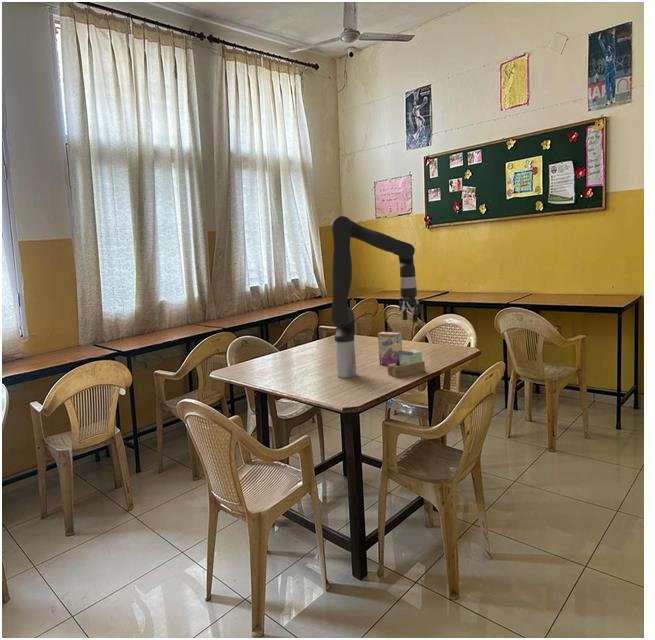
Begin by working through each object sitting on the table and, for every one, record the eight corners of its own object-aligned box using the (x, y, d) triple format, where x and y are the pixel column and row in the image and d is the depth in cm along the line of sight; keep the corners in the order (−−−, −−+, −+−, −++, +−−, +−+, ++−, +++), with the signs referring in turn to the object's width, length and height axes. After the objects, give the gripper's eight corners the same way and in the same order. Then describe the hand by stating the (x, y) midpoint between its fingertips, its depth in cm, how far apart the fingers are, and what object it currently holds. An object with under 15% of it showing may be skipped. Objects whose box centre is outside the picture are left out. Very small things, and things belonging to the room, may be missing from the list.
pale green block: (402, 362, 241) (402, 351, 240) (415, 359, 244) (414, 349, 243) (409, 364, 236) (409, 354, 235) (422, 362, 238) (421, 351, 237)
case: (388, 374, 239) (387, 364, 238) (416, 369, 245) (416, 359, 245) (395, 378, 233) (395, 367, 232) (425, 372, 239) (424, 361, 238)
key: (393, 363, 239) (392, 342, 238) (413, 365, 232) (412, 344, 230) (391, 364, 238) (389, 343, 236) (411, 366, 230) (410, 345, 229)
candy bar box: (379, 364, 259) (377, 333, 256) (383, 362, 263) (382, 331, 260) (399, 366, 252) (397, 334, 250) (403, 364, 256) (401, 332, 254)
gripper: (393, 286, 239) (395, 320, 241) (409, 288, 226) (411, 324, 229) (406, 284, 242) (408, 318, 244) (423, 286, 229) (425, 321, 231)
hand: (410, 321), depth 236 cm, fingers open, 8 cm apart
